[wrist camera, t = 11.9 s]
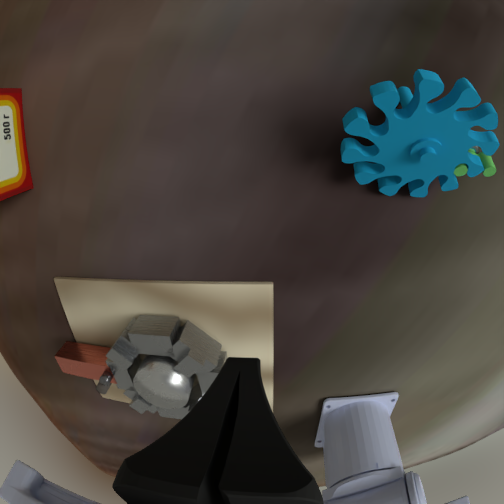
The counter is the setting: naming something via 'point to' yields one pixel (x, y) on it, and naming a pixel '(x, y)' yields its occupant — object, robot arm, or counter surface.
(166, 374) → the grey metal ball
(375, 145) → the gear
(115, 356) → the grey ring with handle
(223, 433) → the robot arm
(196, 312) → the mounting board
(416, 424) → the counter surface
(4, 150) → the baking soda box
